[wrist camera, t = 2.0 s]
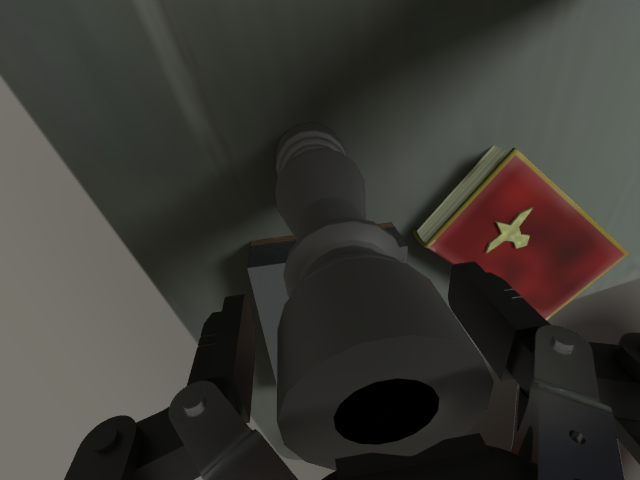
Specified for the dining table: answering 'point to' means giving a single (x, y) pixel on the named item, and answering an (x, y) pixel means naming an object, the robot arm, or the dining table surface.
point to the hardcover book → (521, 232)
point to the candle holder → (361, 323)
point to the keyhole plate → (280, 282)
